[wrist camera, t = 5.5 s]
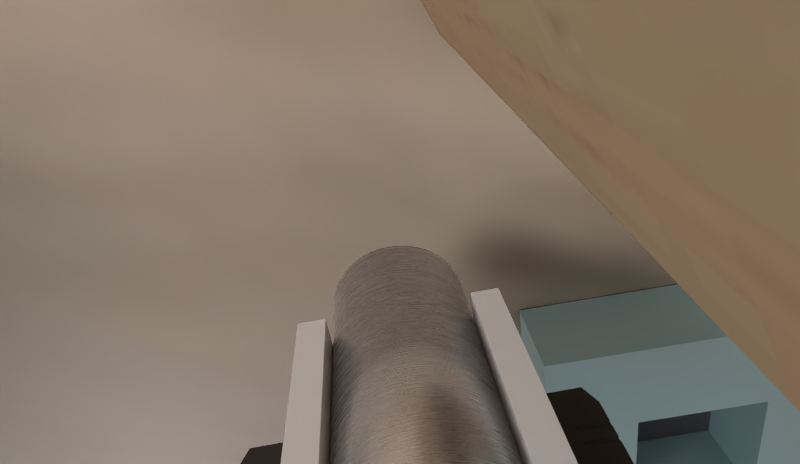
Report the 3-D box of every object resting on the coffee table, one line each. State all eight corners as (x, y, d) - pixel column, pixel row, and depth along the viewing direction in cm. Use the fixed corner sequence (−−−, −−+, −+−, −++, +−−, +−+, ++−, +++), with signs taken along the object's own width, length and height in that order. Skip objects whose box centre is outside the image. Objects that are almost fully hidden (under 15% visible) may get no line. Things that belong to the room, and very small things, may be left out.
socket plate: (532, 504, 29) (554, 572, 25) (519, 310, 23) (544, 366, 20) (769, 466, 28) (819, 530, 25) (810, 262, 23) (881, 311, 20)
